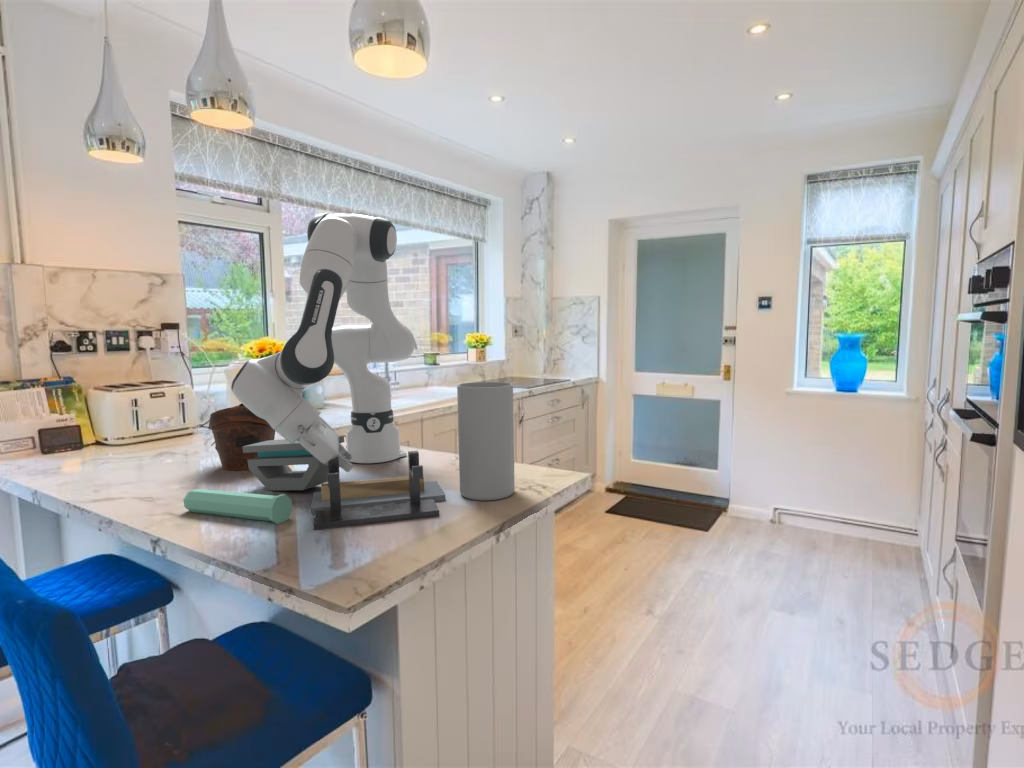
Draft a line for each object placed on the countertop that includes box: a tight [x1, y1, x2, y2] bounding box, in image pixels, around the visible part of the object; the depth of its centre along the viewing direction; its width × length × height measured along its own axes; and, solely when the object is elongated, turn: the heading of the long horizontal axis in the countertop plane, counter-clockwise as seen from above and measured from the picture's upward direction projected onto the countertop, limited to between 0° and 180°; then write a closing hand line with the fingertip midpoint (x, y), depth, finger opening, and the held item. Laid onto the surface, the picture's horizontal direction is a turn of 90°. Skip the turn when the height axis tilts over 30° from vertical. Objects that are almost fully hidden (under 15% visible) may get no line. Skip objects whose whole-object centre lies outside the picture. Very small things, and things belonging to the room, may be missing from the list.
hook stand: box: [313, 450, 440, 531], centre depth 114 cm, size 8×24×12 cm, turn 107°
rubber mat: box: [310, 480, 446, 515], centre depth 126 cm, size 12×28×1 cm, turn 107°
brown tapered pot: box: [208, 402, 276, 471], centre depth 160 cm, size 18×20×18 cm
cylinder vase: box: [456, 381, 516, 502], centre depth 128 cm, size 12×12×25 cm
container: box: [183, 488, 293, 525], centre depth 116 cm, size 6×6×25 cm
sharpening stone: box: [242, 435, 346, 491], centre depth 135 cm, size 25×8×11 cm, turn 65°
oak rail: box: [320, 475, 425, 501], centre depth 126 cm, size 3×22×3 cm, turn 106°
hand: (350, 463), depth 124 cm, fingers open, 8 cm apart
